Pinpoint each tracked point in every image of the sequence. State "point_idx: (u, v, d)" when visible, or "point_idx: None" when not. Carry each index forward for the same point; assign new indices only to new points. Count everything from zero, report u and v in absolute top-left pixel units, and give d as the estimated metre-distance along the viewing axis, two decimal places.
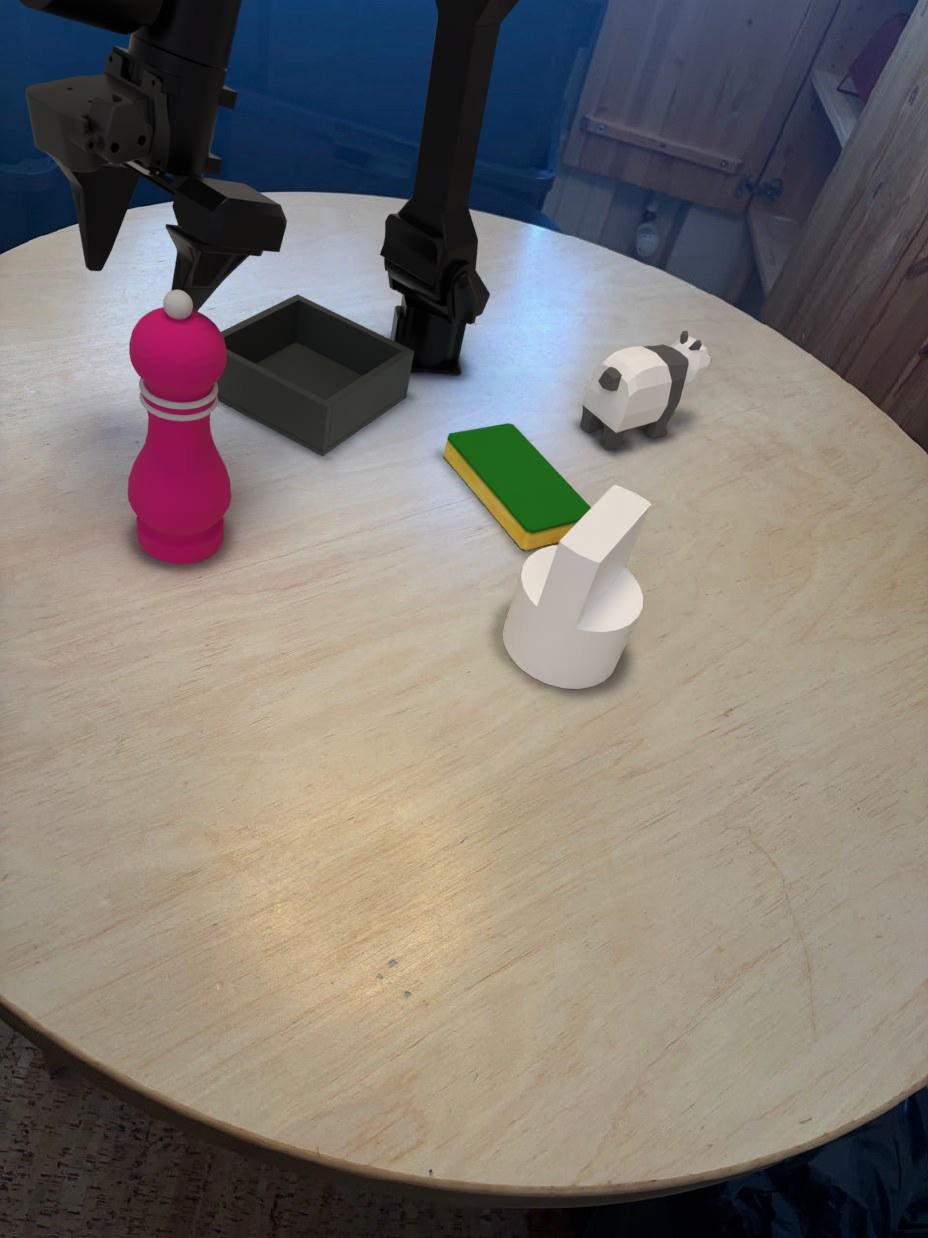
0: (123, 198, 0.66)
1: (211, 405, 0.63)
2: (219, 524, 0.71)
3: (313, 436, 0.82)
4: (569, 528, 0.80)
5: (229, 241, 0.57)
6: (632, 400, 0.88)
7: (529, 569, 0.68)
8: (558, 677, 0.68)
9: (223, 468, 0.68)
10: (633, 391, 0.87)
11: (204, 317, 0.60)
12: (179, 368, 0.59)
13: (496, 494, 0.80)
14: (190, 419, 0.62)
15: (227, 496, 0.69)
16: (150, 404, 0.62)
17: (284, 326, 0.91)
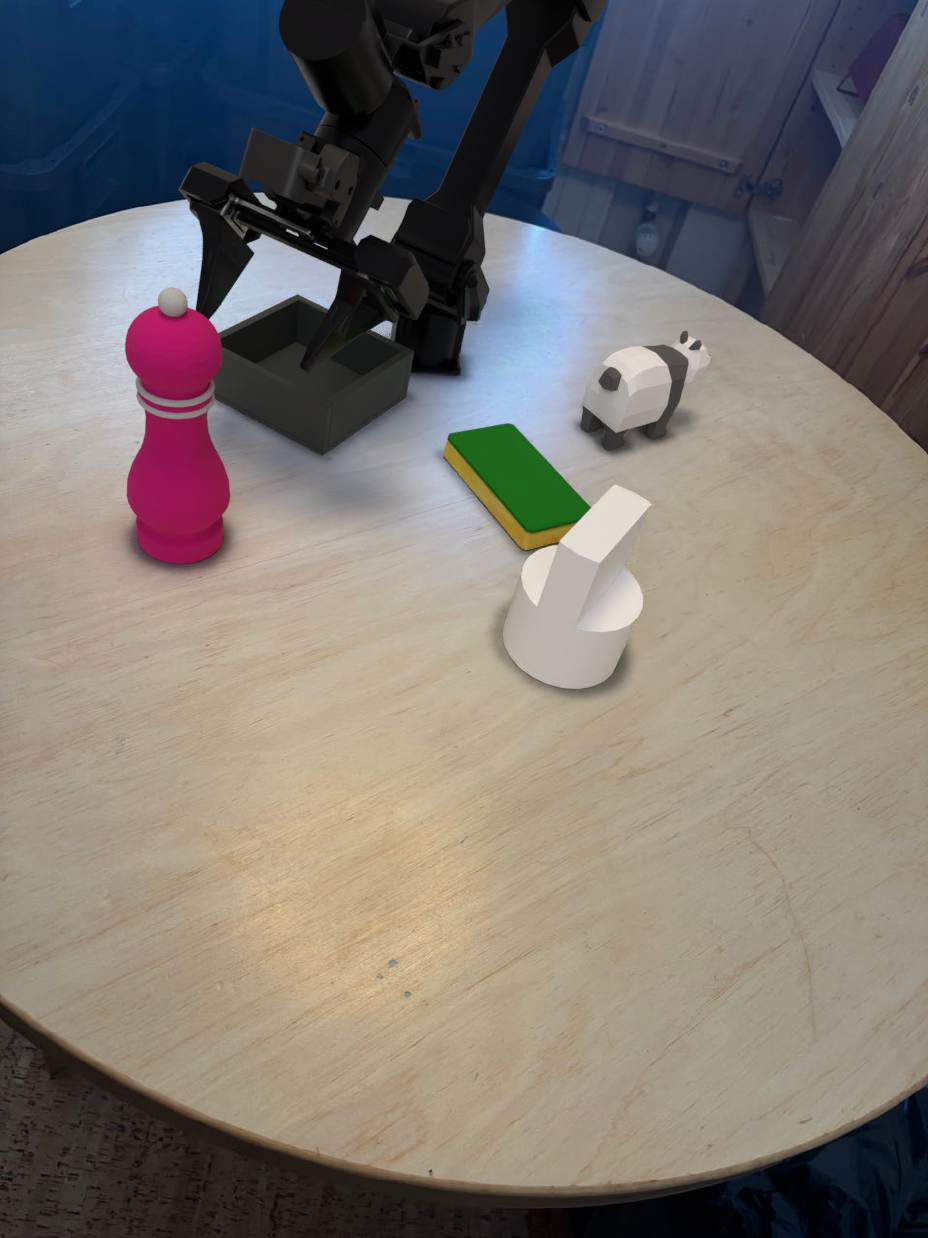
0: (238, 268, 0.71)
1: (207, 403, 0.63)
2: (219, 523, 0.71)
3: (313, 436, 0.82)
4: (569, 528, 0.80)
5: (404, 288, 0.64)
6: (632, 400, 0.88)
7: (529, 569, 0.68)
8: (558, 677, 0.68)
9: (221, 467, 0.68)
10: (633, 391, 0.87)
11: (200, 315, 0.60)
12: (175, 366, 0.59)
13: (496, 494, 0.80)
14: (187, 417, 0.62)
15: (226, 495, 0.69)
16: (147, 402, 0.62)
17: (284, 326, 0.91)
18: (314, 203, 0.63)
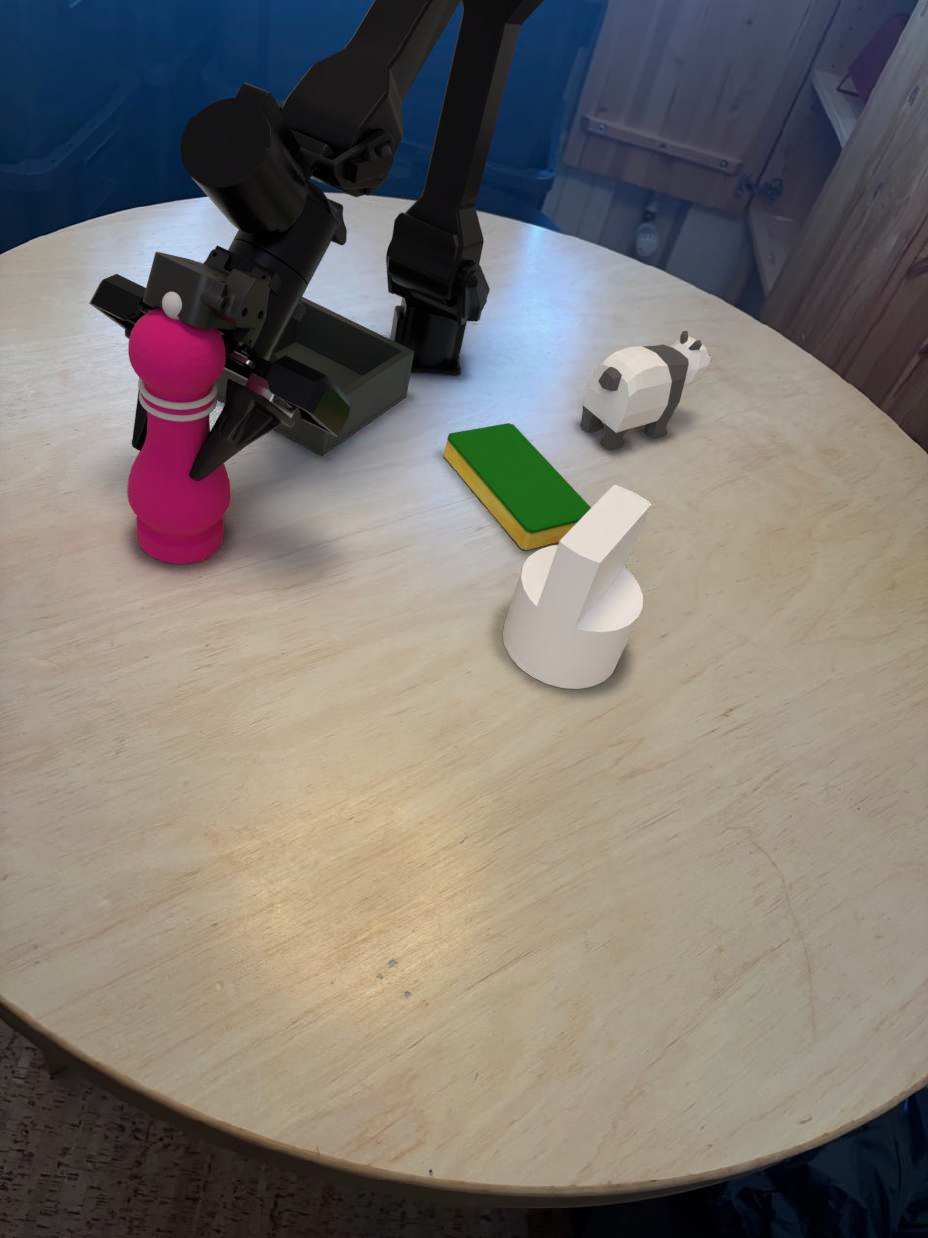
0: None
1: (210, 405, 0.63)
2: (219, 523, 0.71)
3: (313, 436, 0.82)
4: (569, 528, 0.80)
5: (319, 412, 0.62)
6: (632, 400, 0.88)
7: (529, 569, 0.68)
8: (558, 677, 0.68)
9: (223, 468, 0.68)
10: (633, 391, 0.87)
11: None
12: (179, 368, 0.59)
13: (496, 494, 0.80)
14: (190, 419, 0.62)
15: (227, 496, 0.69)
16: (150, 404, 0.62)
17: None
18: (223, 327, 0.60)
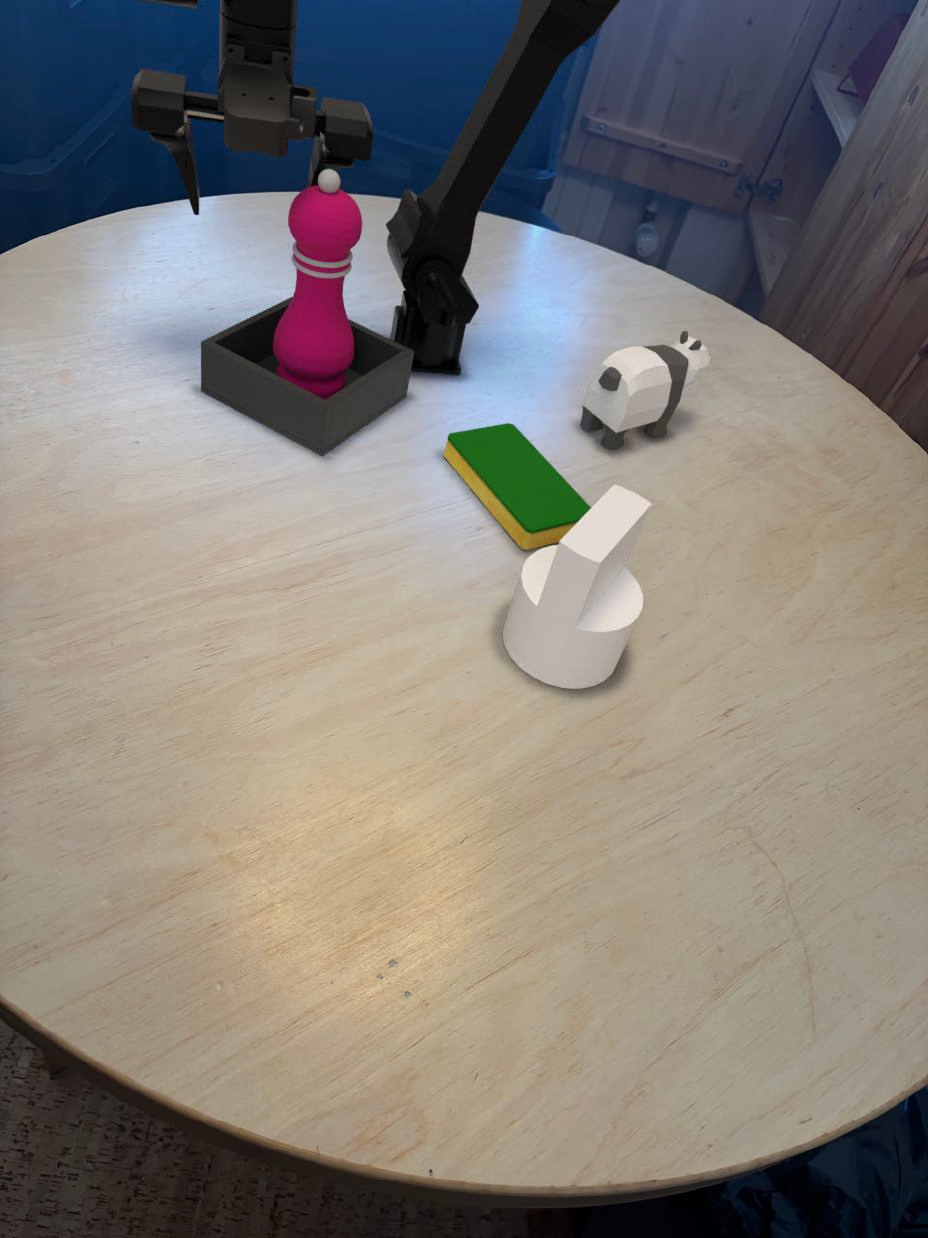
0: (193, 144, 0.79)
1: (348, 267, 0.80)
2: (342, 376, 0.88)
3: (313, 436, 0.82)
4: (569, 528, 0.80)
5: None
6: (632, 400, 0.88)
7: (529, 569, 0.68)
8: (558, 677, 0.68)
9: (350, 326, 0.85)
10: (633, 391, 0.87)
11: None
12: (331, 230, 0.75)
13: (496, 494, 0.80)
14: (333, 276, 0.79)
15: (352, 349, 0.85)
16: (302, 264, 0.78)
17: None
18: None
